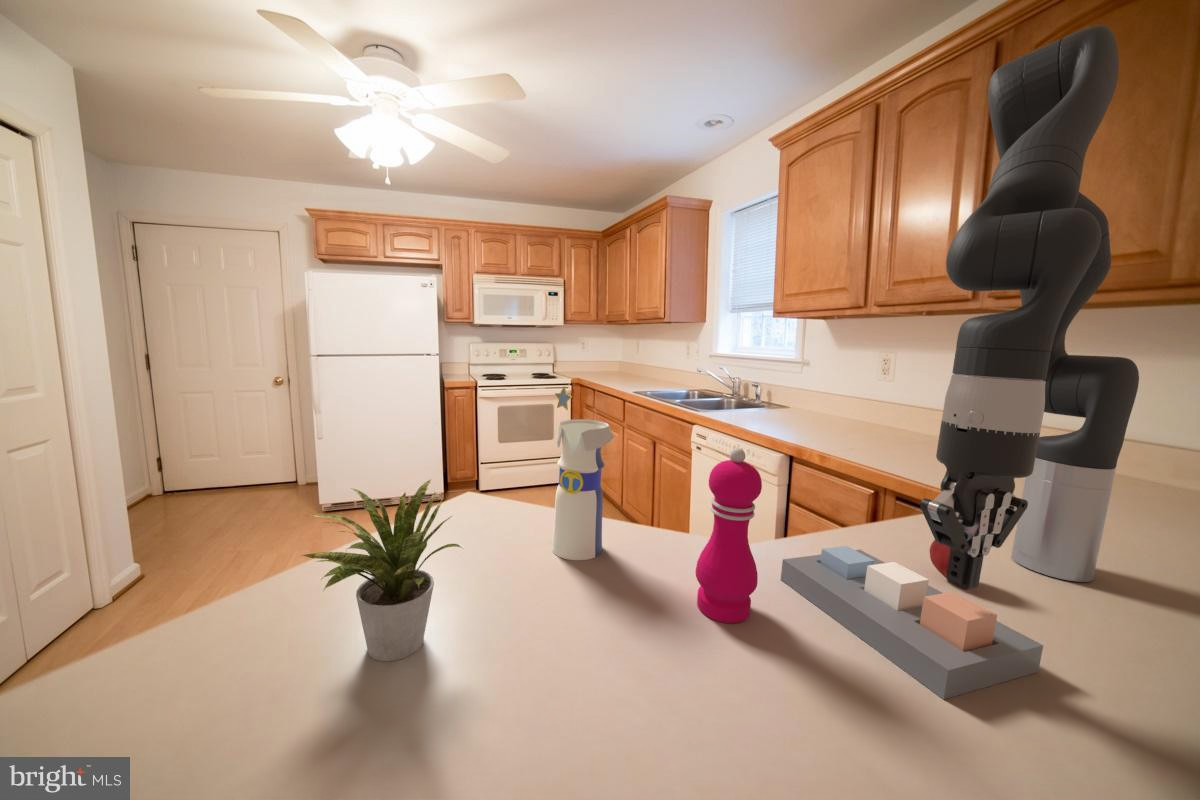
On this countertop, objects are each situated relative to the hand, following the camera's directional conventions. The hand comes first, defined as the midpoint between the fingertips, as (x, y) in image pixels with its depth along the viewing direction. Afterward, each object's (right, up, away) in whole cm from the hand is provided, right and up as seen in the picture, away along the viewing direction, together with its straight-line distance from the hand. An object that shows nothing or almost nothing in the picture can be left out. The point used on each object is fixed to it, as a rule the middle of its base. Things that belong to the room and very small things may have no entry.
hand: (961, 585), depth 47 cm
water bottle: (-41, -4, +22) cm, 47 cm away
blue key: (-5, -5, +14) cm, 16 cm away
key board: (-3, -7, +8) cm, 11 cm away
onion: (+13, -7, +18) cm, 23 cm away
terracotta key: (0, -6, +1) cm, 6 cm away
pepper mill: (-23, -6, +8) cm, 25 cm away
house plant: (-59, -5, 0) cm, 59 cm away
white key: (-2, -5, +7) cm, 9 cm away
